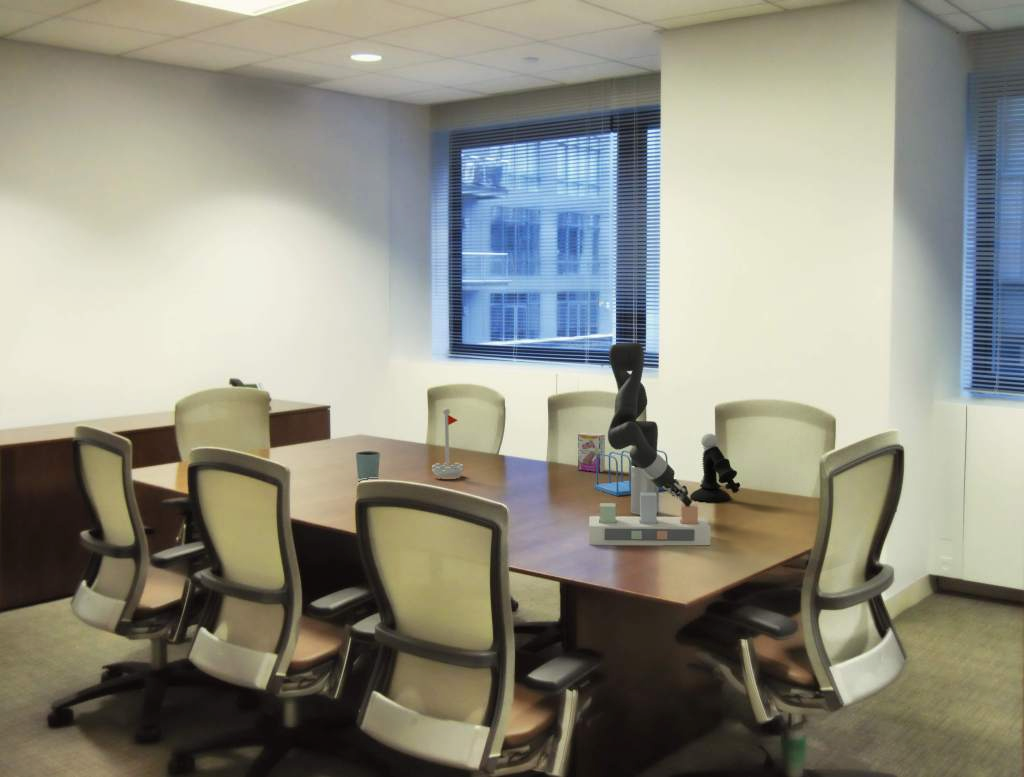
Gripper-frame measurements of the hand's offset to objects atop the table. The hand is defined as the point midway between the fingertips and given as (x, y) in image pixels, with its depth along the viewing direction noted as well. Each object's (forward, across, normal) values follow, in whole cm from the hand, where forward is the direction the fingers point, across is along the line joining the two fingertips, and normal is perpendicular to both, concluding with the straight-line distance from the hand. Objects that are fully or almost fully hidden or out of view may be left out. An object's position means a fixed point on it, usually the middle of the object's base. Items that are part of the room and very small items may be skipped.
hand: (689, 503), depth 332 cm
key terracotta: (+8, 0, +7) cm, 11 cm away
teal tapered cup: (-35, +147, +52) cm, 160 cm away
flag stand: (-12, +138, +29) cm, 141 cm away
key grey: (-3, +6, +13) cm, 15 cm away
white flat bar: (0, +6, +16) cm, 18 cm away
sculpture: (+39, +44, -22) cm, 63 cm away
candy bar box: (+31, +121, -14) cm, 126 cm away
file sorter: (+28, +78, -10) cm, 84 cm away
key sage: (-8, +13, +23) cm, 28 cm away
